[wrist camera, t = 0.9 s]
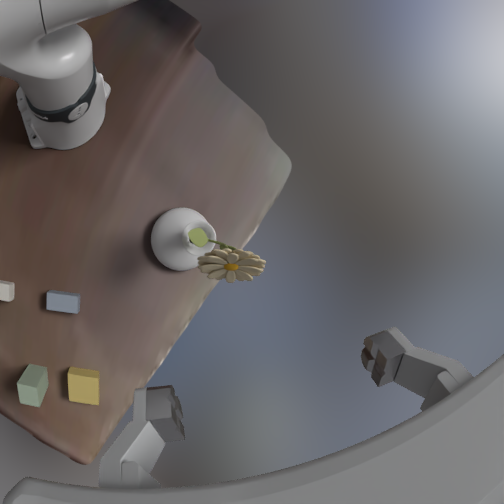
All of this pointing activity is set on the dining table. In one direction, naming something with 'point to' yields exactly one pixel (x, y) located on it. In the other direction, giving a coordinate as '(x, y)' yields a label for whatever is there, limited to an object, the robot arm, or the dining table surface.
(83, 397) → the mustard brick
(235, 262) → the flower in vase
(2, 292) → the cream brick
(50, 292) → the slate brick
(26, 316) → the dining table surface
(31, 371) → the green brick
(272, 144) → the dining table surface
